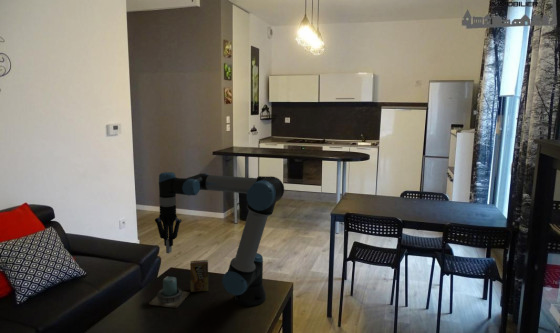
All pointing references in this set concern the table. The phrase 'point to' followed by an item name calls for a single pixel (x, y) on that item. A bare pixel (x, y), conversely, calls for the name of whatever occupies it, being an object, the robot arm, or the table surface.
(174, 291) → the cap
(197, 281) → the candy box
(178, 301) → the square base with ring
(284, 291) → the table surface
